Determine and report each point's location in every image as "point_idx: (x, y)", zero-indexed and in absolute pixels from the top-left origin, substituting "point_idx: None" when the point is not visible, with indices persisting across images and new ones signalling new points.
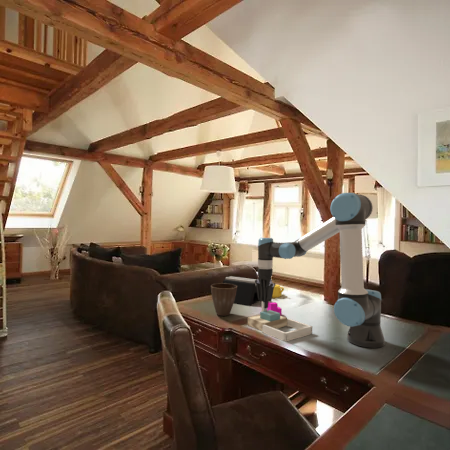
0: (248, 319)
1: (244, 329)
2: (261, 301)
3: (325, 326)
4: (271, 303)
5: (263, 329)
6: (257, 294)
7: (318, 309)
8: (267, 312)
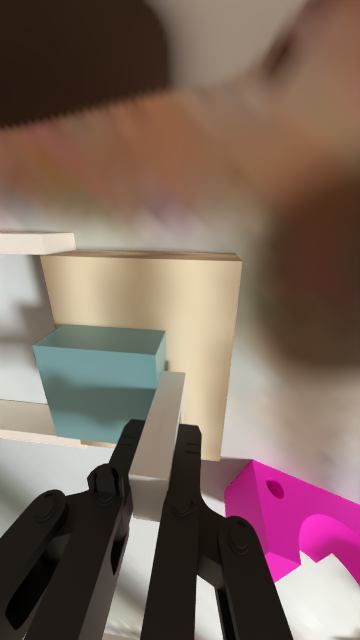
0: (229, 258)
1: (180, 163)
2: (188, 486)
3: (35, 491)
4: (274, 557)
5: (51, 233)
6: (289, 637)
7: None
8: (112, 389)
